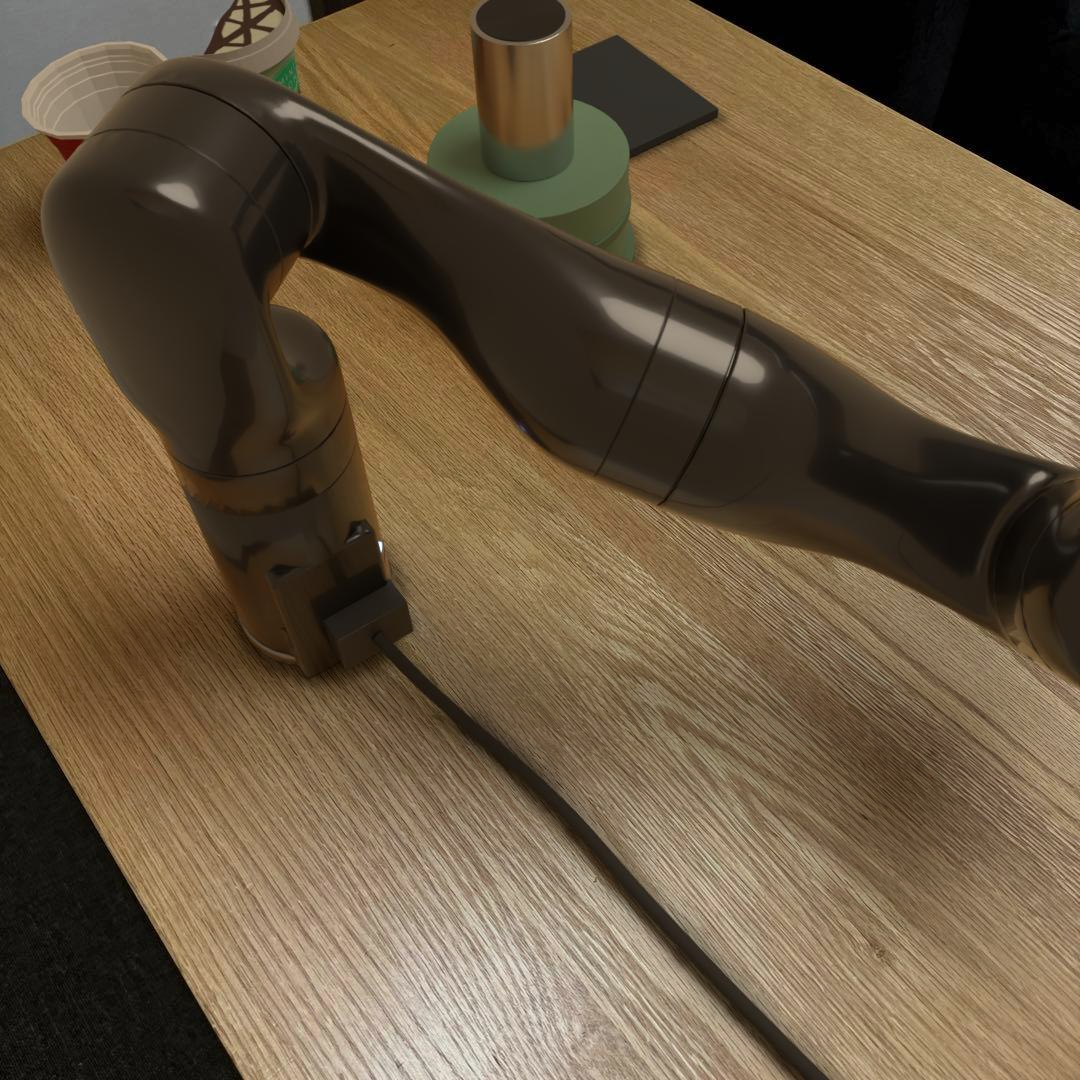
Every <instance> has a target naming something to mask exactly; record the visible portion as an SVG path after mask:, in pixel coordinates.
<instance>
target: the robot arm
mask: <svg viewBox="0 0 1080 1080" xmlns="http://www.w3.org/2000/svg"><path fill="white" fill-rule="evenodd" d="M167 59H168V58H167ZM40 226H41V232H42V237H43V242H44V246H45V248H46V251H47V254H48V258H49V261H50V263H51V266H52V268H53V270H54V272H55V274H56V277H57V278H58V280H59V282H60V285H61V286H62V288H63V290H64V293H65V294H66V296H67V298H68V300H69V301H70V303H71V305H72V307H73V308H74V311H75V312H76V314H77V316H78V317H79V319H80V321H81V323H82V324H83V326H84V328H85V330H86V332H87V334H88V335H89V337H90V339H91V341H92V343H93V344H94V346H95V349H96V351H98V353H99V355H100V357H101V359H102V361H103V363H104V365H105V366H106V369H107V371H108V372H109V374H110V376H111V377H112V379H113V381H114V383H115V384H116V386H117V387H118V389H119V390H120V392H121V393H122V395H123V396H124V397H125V399H126V400H128V402H129V403H130V404H131V405H132V406H133V408H134V409H136V411H138V413H140V415H141V416H142V417H143V418H144V419H145V420H146V421H147V422H149V424H150V425H151V426H152V427H153V428H154V429H155V431H156V433H157V435H158V437H159V440H160V442H161V443H162V446H163V448H164V450H165V452H166V455H167V457H168V459H169V461H170V464H171V466H172V468H173V470H174V472H175V475H176V478H177V480H178V483H179V485H180V487H181V489H182V491H183V493H184V496H185V497H186V501H187V503H188V505H189V507H190V510H191V512H192V514H193V516H194V519H195V520H196V523H197V525H198V527H199V530H200V533H201V534H202V537H203V539H204V541H205V544H206V545H207V548H208V551H209V553H210V554H211V556H212V559H213V561H214V564H215V566H216V568H217V570H218V573H219V575H220V578H221V579H222V582H223V584H224V586H225V588H226V591H227V593H228V595H229V597H230V599H231V601H232V603H233V606H234V608H235V610H236V615H237V618H238V620H239V623H240V626H241V628H242V630H243V632H244V634H245V636H246V638H247V639H248V640H249V641H250V643H251V644H252V645H253V646H254V648H256V649H257V650H258V651H259V652H261V653H262V654H264V655H265V656H266V657H268V658H271V659H273V660H275V661H277V662H280V663H283V664H287V665H293V666H298V668H299V669H300V670H301V671H302V673H303V674H304V675H305V677H307V678H312V677H315V676H316V675H318V674H320V673H321V672H323V671H325V670H326V669H328V668H330V667H332V666H334V665H335V664H337V663H339V662H341V664H342V665H343V667H344V669H346V670H349V669H351V668H353V667H355V666H357V665H358V664H360V663H362V662H364V661H365V660H367V659H369V658H370V657H372V656H374V655H376V654H377V653H379V652H382V653H383V655H384V656H385V657H386V658H387V659H388V660H389V661H390V662H391V663H392V664H393V665H394V666H395V667H396V668H397V669H398V670H399V671H400V673H402V674H403V676H404V677H405V678H407V680H408V681H410V682H411V684H412V685H414V686H415V687H416V689H418V690H419V691H420V692H421V693H422V694H423V695H424V696H425V697H426V698H427V699H428V700H429V701H430V702H432V703H433V704H434V705H435V706H436V707H437V708H438V709H439V710H441V712H443V713H444V714H445V715H446V716H447V717H448V718H449V719H451V720H452V721H453V722H454V723H455V724H456V725H458V726H459V727H460V728H461V729H462V730H463V731H464V732H466V734H468V735H469V736H470V737H471V738H472V739H473V740H475V741H476V742H477V743H478V744H479V745H481V747H483V748H484V749H485V750H486V751H488V753H490V754H491V755H492V756H493V757H494V758H496V759H497V760H498V761H500V763H502V764H503V765H504V766H505V767H506V768H508V769H509V770H510V771H511V772H512V773H513V774H515V776H517V777H518V778H519V779H520V780H521V781H522V782H523V783H525V784H526V786H528V787H529V788H530V789H531V790H532V791H533V792H534V793H536V794H537V795H538V796H539V798H541V799H542V800H543V801H544V802H545V803H546V804H547V805H548V806H549V807H550V808H551V809H552V810H553V811H554V812H555V813H556V815H558V816H559V817H560V818H561V819H562V820H563V821H564V822H565V823H566V825H567V826H568V827H569V828H570V829H571V830H572V831H573V832H574V833H575V834H576V835H577V836H578V837H579V838H580V840H581V841H582V842H583V843H584V844H585V845H586V846H587V848H588V849H589V850H590V851H591V853H593V854H594V856H595V857H596V858H597V859H598V860H599V861H600V863H601V864H602V865H603V866H604V867H605V869H606V870H607V871H608V872H609V873H610V875H612V876H613V877H614V879H615V880H616V881H617V882H618V884H620V886H621V887H622V888H623V890H625V892H627V894H628V895H629V896H630V897H631V898H632V899H633V900H634V902H635V903H636V904H637V905H638V906H639V907H640V909H642V910H643V911H644V912H645V913H646V914H647V916H648V917H649V918H650V920H652V921H653V922H654V923H655V924H656V926H658V927H659V929H660V930H661V931H662V932H663V933H664V934H665V935H666V937H668V939H670V940H671V942H672V943H673V944H674V945H675V946H676V947H677V948H678V949H679V950H680V952H682V954H683V955H684V956H685V957H686V958H687V959H688V960H689V961H690V962H691V963H692V965H694V967H696V969H697V970H698V971H699V972H700V973H701V974H702V975H703V976H704V977H705V978H706V979H707V980H708V982H710V983H711V984H712V985H713V987H714V988H715V989H716V990H717V991H718V992H719V993H720V994H721V995H722V996H723V997H724V998H725V999H726V1000H727V1001H728V1002H729V1003H730V1004H731V1005H732V1006H733V1007H734V1008H735V1009H736V1010H737V1012H739V1013H740V1015H741V1016H743V1017H744V1018H745V1020H746V1021H747V1022H748V1023H749V1024H750V1025H751V1026H752V1027H753V1028H754V1029H755V1030H756V1031H757V1032H758V1033H759V1034H760V1035H761V1037H763V1038H764V1039H765V1040H766V1041H767V1042H768V1043H769V1044H770V1045H771V1046H772V1047H773V1048H774V1049H775V1051H777V1052H778V1053H779V1055H780V1056H781V1057H783V1059H784V1060H786V1061H787V1062H788V1064H789V1065H790V1066H792V1067H793V1068H794V1070H795V1071H797V1073H799V1075H801V1077H803V1079H805V1080H831V1079H830V1078H829V1077H828V1076H827V1075H826V1074H825V1073H824V1072H823V1071H822V1070H821V1069H820V1068H819V1067H818V1066H817V1065H816V1064H815V1063H814V1062H812V1060H811V1059H810V1058H809V1057H808V1056H806V1054H804V1052H803V1051H801V1049H799V1048H798V1047H797V1045H795V1043H793V1042H792V1041H791V1039H789V1038H788V1036H787V1035H786V1034H785V1033H783V1031H782V1030H781V1029H780V1028H779V1027H778V1026H777V1025H776V1024H775V1023H774V1022H773V1021H772V1020H771V1019H770V1018H769V1017H768V1016H767V1015H766V1014H765V1013H764V1012H763V1011H762V1010H761V1009H760V1008H759V1007H758V1006H757V1005H756V1004H755V1003H754V1002H753V1001H752V1000H751V999H750V998H749V997H748V996H747V995H746V993H744V992H743V991H742V990H741V988H740V987H738V986H737V985H736V984H735V983H734V982H733V981H732V979H730V977H728V975H727V974H726V973H725V972H724V971H723V970H722V969H721V968H720V967H719V966H718V965H717V964H716V963H715V962H714V961H713V960H712V959H711V957H709V956H708V955H707V953H706V952H705V951H703V949H702V948H701V947H700V945H698V944H697V943H696V942H695V941H694V940H693V939H692V938H691V936H690V935H689V934H688V933H687V932H685V930H684V929H683V928H682V927H681V926H680V925H679V923H677V922H676V920H675V919H674V918H673V917H672V916H671V915H670V914H669V913H668V912H667V911H666V910H665V909H664V908H663V907H662V906H661V904H660V903H659V902H658V901H657V900H656V899H655V898H654V897H653V896H652V895H651V893H649V891H648V890H646V888H645V887H644V886H643V885H642V884H641V883H640V882H639V880H638V879H637V878H636V877H635V876H634V874H632V873H631V871H629V869H628V868H627V867H626V866H625V864H624V863H623V862H622V861H621V860H620V858H618V856H616V855H615V853H614V852H613V851H612V850H611V848H609V846H608V845H607V844H606V843H605V842H604V841H603V840H602V838H601V837H600V836H599V835H598V834H597V833H596V832H595V831H594V829H592V827H591V826H590V825H589V824H588V823H587V822H586V820H584V819H583V817H582V816H580V814H579V813H578V812H577V811H576V810H575V809H574V808H573V807H572V806H571V804H569V803H568V802H567V801H566V800H565V799H564V798H563V797H562V796H561V795H560V794H559V793H558V792H557V791H556V790H555V789H554V788H553V787H552V786H550V784H548V782H546V781H545V780H544V779H543V778H542V777H541V776H540V775H539V774H537V773H536V772H535V770H533V769H532V768H531V767H530V766H529V765H528V764H526V763H525V762H524V761H523V760H522V759H521V758H520V757H518V756H517V755H516V753H513V752H512V751H511V750H510V749H509V748H507V746H505V745H504V744H503V743H502V742H500V741H499V740H498V739H496V737H494V736H493V735H492V734H490V732H488V731H487V730H486V729H485V728H484V727H483V726H482V725H480V724H479V723H478V722H476V720H475V719H473V718H472V717H471V716H470V715H469V714H468V713H466V711H464V710H463V709H462V708H461V707H460V706H459V705H457V704H456V703H455V702H454V701H453V700H452V699H450V697H448V695H446V694H445V693H444V692H443V691H442V690H440V688H438V686H436V685H435V684H434V683H433V681H431V680H430V679H429V678H428V677H427V676H426V675H425V674H424V673H423V672H422V671H421V670H420V668H418V667H417V666H416V665H415V664H414V663H413V662H412V661H411V659H409V658H408V657H407V656H406V655H405V654H404V653H403V651H401V650H400V648H398V646H397V645H396V644H394V643H396V642H398V641H400V640H401V639H403V638H404V637H406V636H408V635H409V634H411V633H413V632H414V630H415V629H414V627H413V622H412V617H411V613H410V608H409V605H408V601H407V600H406V599H405V596H403V594H402V593H401V592H400V590H399V589H398V588H397V586H396V581H395V577H394V573H393V569H392V566H391V563H390V562H389V559H388V556H387V551H386V547H385V543H384V539H383V536H382V532H381V528H380V523H379V519H378V516H377V511H376V507H375V503H374V499H373V496H372V491H371V487H370V484H369V479H368V474H367V471H366V467H365V466H366V465H365V463H364V458H363V455H362V451H361V446H360V442H359V437H358V433H357V430H356V429H357V428H356V423H355V420H354V415H353V412H352V408H351V404H350V400H349V397H348V396H349V395H348V392H347V389H346V382H345V378H344V374H343V370H342V366H341V361H340V358H339V355H338V352H337V350H336V347H335V345H334V343H333V341H332V339H331V338H330V337H329V335H328V333H327V332H326V331H325V330H324V329H323V327H322V326H320V325H319V324H318V323H317V322H316V321H315V320H313V318H311V317H309V316H308V315H306V314H304V313H302V312H300V311H298V310H296V309H293V308H290V307H287V306H283V305H280V304H279V305H278V304H275V303H274V304H273V303H271V302H272V300H273V299H274V297H275V295H276V294H277V292H278V291H279V290H280V288H281V286H282V284H283V283H284V281H285V279H286V278H287V276H288V275H289V273H290V272H291V270H292V268H293V267H294V265H295V264H296V261H298V259H302V260H305V261H307V262H311V263H313V264H316V265H319V266H322V267H324V268H327V269H329V270H331V271H333V272H336V273H339V274H341V275H343V276H345V277H348V278H349V279H352V280H354V281H356V282H358V283H360V284H363V285H365V286H366V287H369V288H370V289H372V290H374V291H376V292H379V293H380V294H381V295H384V296H386V297H388V298H389V299H391V300H392V301H394V302H396V303H397V304H399V305H401V306H402V307H404V308H405V309H407V310H408V311H410V312H411V313H412V314H413V315H415V316H416V317H417V318H419V320H421V321H422V322H423V323H424V324H425V325H426V326H428V328H429V329H431V330H432V331H433V332H434V333H435V334H436V335H437V336H438V337H439V338H440V339H441V340H442V341H443V343H444V344H445V345H446V346H447V347H448V348H449V350H450V351H451V352H452V353H453V354H454V355H455V357H456V358H457V359H458V360H459V362H460V363H461V364H462V366H463V367H464V369H466V371H467V372H468V373H469V374H470V376H471V377H472V378H473V380H474V381H475V382H476V383H477V385H478V386H479V387H480V388H481V389H482V391H483V392H484V393H485V394H486V395H487V397H488V398H489V399H490V400H491V402H492V403H493V404H494V405H495V406H496V408H497V409H498V410H499V411H500V412H501V413H502V414H503V416H504V417H505V418H506V419H507V420H508V421H509V422H510V423H511V425H512V426H513V427H514V428H515V429H516V430H517V431H518V432H519V433H520V434H521V435H522V436H523V437H524V439H526V440H527V441H528V442H529V443H530V444H531V445H532V446H533V447H535V448H536V450H538V452H540V453H542V454H543V455H544V456H545V457H547V458H548V459H549V460H551V461H552V462H553V463H555V464H556V465H559V466H560V467H561V468H563V469H564V470H567V471H569V472H571V473H573V474H575V475H577V476H579V477H582V478H583V479H586V480H589V481H592V482H593V483H596V484H598V485H601V486H604V487H606V488H608V489H610V490H613V491H616V492H617V493H619V494H622V495H625V496H627V497H629V498H631V499H633V500H637V501H639V502H642V503H644V504H646V505H649V506H651V507H655V508H656V509H657V510H660V511H663V512H666V513H669V514H671V515H674V516H677V517H680V518H683V519H685V520H689V521H691V522H694V523H697V524H700V525H703V526H706V527H710V528H713V529H716V530H720V531H723V532H727V533H730V534H733V535H736V536H740V537H744V538H748V539H752V540H756V541H760V542H764V543H768V544H772V545H776V546H780V547H785V548H791V549H794V550H795V549H796V550H800V551H804V552H810V553H813V554H817V555H822V556H827V557H830V558H834V559H837V560H842V561H844V562H848V563H852V564H855V565H857V566H860V567H862V568H865V569H868V570H870V571H873V572H874V573H877V574H879V575H880V576H881V575H882V576H884V577H886V578H887V579H890V580H892V581H894V582H897V583H898V584H900V585H902V586H904V587H906V588H908V589H910V590H912V591H914V592H915V593H917V594H919V595H922V596H923V597H924V598H925V597H926V598H927V599H929V600H931V601H933V602H934V603H937V604H939V605H941V606H943V607H944V608H947V609H948V610H950V611H952V612H953V613H955V614H957V615H958V616H961V618H964V619H966V620H968V621H970V622H972V623H973V624H975V625H976V626H978V627H979V628H981V629H983V630H985V631H986V632H988V633H990V634H992V635H993V636H995V637H996V638H998V639H999V640H1001V641H1002V642H1004V643H1005V644H1007V645H1008V646H1009V647H1011V648H1012V649H1013V650H1015V651H1016V652H1017V653H1019V654H1020V655H1022V656H1024V657H1025V658H1027V659H1028V660H1030V661H1031V662H1033V663H1035V664H1037V665H1038V666H1039V667H1041V668H1042V669H1045V670H1046V671H1047V672H1049V673H1051V674H1052V675H1054V676H1056V677H1057V678H1059V679H1060V680H1062V681H1064V682H1065V683H1067V684H1068V685H1070V686H1072V687H1074V688H1075V689H1077V690H1079V691H1080V468H1079V467H1074V466H1070V465H1067V464H1063V463H1060V462H1056V461H1052V460H1050V459H1049V460H1048V459H1045V458H1042V457H1039V456H1035V455H1033V454H1032V455H1031V454H1029V453H1026V452H1022V451H1020V450H1016V449H1013V448H1011V447H1007V446H1005V445H1002V444H998V443H995V442H993V441H990V440H987V439H983V438H982V437H981V438H980V437H978V436H974V435H972V434H969V433H966V432H964V431H961V430H958V429H957V428H953V427H951V426H948V425H945V424H943V423H941V422H939V421H936V420H934V419H933V418H931V417H929V416H926V415H924V414H922V413H921V412H919V411H917V410H916V409H914V408H912V407H910V406H908V405H907V404H905V403H903V402H902V401H900V400H899V399H898V398H896V397H895V396H893V395H891V394H890V393H888V392H887V391H886V390H884V389H883V388H881V386H878V385H877V384H875V383H874V382H872V381H871V380H869V379H868V378H867V377H866V376H864V375H862V374H861V373H860V372H858V370H855V368H852V367H851V366H849V365H848V364H847V363H844V361H842V360H840V359H839V358H837V357H836V356H834V355H832V354H831V353H829V352H828V351H826V350H824V349H823V348H821V347H820V346H818V345H816V344H815V343H813V342H811V341H809V340H808V339H806V338H804V337H803V336H801V335H800V334H798V333H796V332H794V331H792V330H790V329H789V328H787V327H784V326H783V325H780V324H779V323H777V322H775V321H773V320H771V319H769V318H767V317H766V316H764V315H762V314H759V313H758V312H757V311H754V310H752V309H750V308H748V307H743V306H742V305H740V304H738V303H735V302H733V301H731V300H729V299H727V298H724V297H722V296H719V295H717V294H715V293H712V292H710V291H708V290H706V289H703V288H701V287H699V286H696V285H694V284H692V283H689V282H687V281H685V280H682V279H680V278H677V277H675V276H673V275H670V274H668V273H666V272H662V271H660V270H657V269H655V268H652V267H649V266H647V265H644V264H642V263H640V262H637V261H635V260H634V261H632V260H629V259H627V258H624V257H621V256H619V255H616V254H614V253H611V252H609V251H607V250H605V249H602V248H600V247H598V246H596V245H594V244H591V243H589V242H587V241H585V240H582V239H580V238H578V237H576V236H574V235H572V234H569V233H567V232H565V231H563V230H561V229H559V228H557V227H555V226H552V225H550V224H548V223H546V222H544V221H542V220H540V219H537V218H535V217H533V216H531V215H529V214H527V213H525V212H522V211H520V210H518V209H516V208H514V207H511V206H509V205H507V204H505V203H503V202H501V201H499V200H496V199H494V198H492V197H490V196H488V195H486V194H484V193H481V192H479V191H477V190H475V189H473V188H471V187H469V186H467V185H465V184H463V183H461V182H459V181H457V180H455V179H453V178H451V177H449V176H447V175H445V174H443V173H441V172H439V171H438V170H436V169H434V168H432V167H430V166H428V165H427V163H425V162H423V161H422V160H420V159H418V158H416V157H414V156H413V155H410V154H409V153H407V152H405V151H404V150H401V149H400V148H398V147H396V146H394V145H393V144H391V143H389V142H388V141H385V139H382V138H380V137H379V136H377V135H376V134H375V135H374V134H373V133H371V132H370V131H368V130H366V129H364V128H362V127H361V126H359V125H357V124H355V123H353V122H351V121H350V120H348V119H346V118H344V117H343V116H341V115H339V114H338V113H336V112H334V111H333V110H331V109H328V108H326V107H325V106H323V105H321V104H320V103H317V102H316V101H314V100H312V99H310V98H308V97H306V96H305V95H304V94H299V93H297V92H296V91H294V90H292V89H290V88H288V87H286V86H284V85H282V84H280V83H278V82H276V81H274V80H272V79H270V78H267V77H265V76H263V75H261V74H258V73H256V72H254V71H251V70H249V69H246V68H244V67H241V66H238V65H235V64H232V63H229V62H225V61H221V60H217V59H210V58H204V57H195V56H192V55H191V56H182V57H172V58H169V59H168V60H165V61H163V62H160V63H158V64H157V65H155V66H153V67H152V68H150V69H149V70H147V71H146V72H145V73H143V74H142V75H141V76H140V77H139V78H138V79H137V80H136V81H134V82H133V84H132V85H131V86H130V87H129V88H128V89H127V90H126V91H125V93H124V94H123V95H122V96H121V97H120V98H119V100H118V101H117V102H116V103H115V104H114V106H113V107H112V108H111V109H110V110H109V111H108V113H107V114H106V115H105V116H104V117H103V118H102V120H101V121H100V122H99V123H98V124H97V126H96V127H95V128H94V129H93V130H92V132H91V133H90V134H89V135H88V136H87V137H86V139H85V140H84V141H83V142H82V143H81V145H80V146H79V147H78V148H77V149H76V150H75V152H74V153H73V154H72V155H71V156H70V158H69V159H68V160H67V161H65V162H64V163H63V165H62V166H61V167H60V168H59V169H58V170H57V172H56V173H54V176H53V177H52V178H51V180H50V182H49V184H48V185H47V187H46V188H45V190H44V193H43V196H42V200H41V203H40Z"/></svg>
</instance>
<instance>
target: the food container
mask: <svg viewBox="0 0 1080 1080" xmlns="http://www.w3.org/2000/svg"><path fill="white" fill-rule="evenodd" d="M300 29H301V28H300V24H299V21H298V19H297V17H296V14H295V13H294V11H293V9H292V6H291V4H290V3H289V1H288V0H233V2H232V4H231V5H230V6H229V8H228V9H227V10H226V11H225V12H224V13H223V14H222V16H221V17H220V18H219V20H218V22H217V24H216V26H215V28H214V31H213V34H212V37H211V39H210V41H209V43H208V45H207V47H206V49H205V51H204V53H203V54H191V56H195V57H204V58H210V59H217V60H221V61H225V62H229V63H232V64H235V65H238V66H241V67H244V68H246V69H249V70H251V71H254V72H256V73H258V74H261V75H263V76H265V77H267V78H270V79H272V80H274V81H276V82H278V83H280V84H282V85H284V86H286V87H288V88H290V89H292V90H294V91H296V92H297V93H299V94H301V93H302V92H301V86H300V80H299V73H298V66H297V59H296V51H295V46H296V45H297V43H298V40H299V38H300ZM301 95H302V94H301Z"/></svg>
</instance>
